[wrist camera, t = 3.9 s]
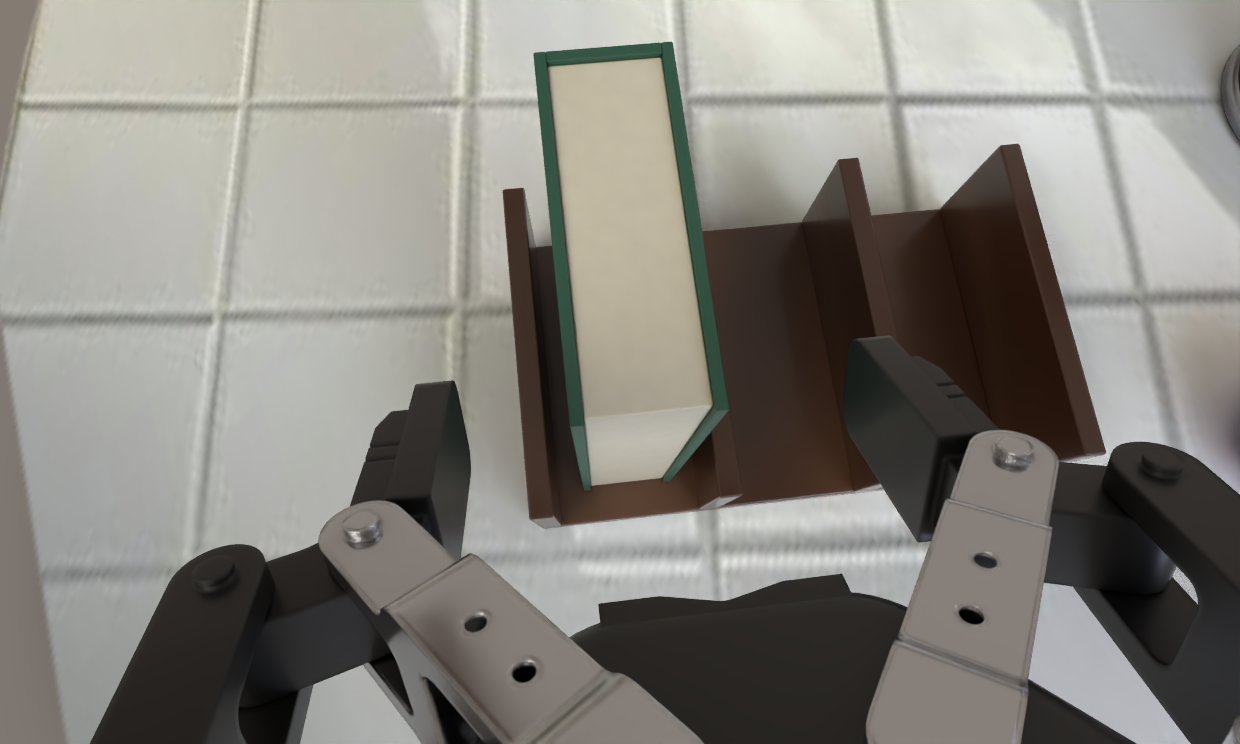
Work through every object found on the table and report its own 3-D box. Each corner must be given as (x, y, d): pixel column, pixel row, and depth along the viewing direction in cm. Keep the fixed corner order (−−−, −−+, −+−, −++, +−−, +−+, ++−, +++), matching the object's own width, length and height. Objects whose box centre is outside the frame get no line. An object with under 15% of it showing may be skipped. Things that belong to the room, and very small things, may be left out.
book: (641, 262, 32) (673, 40, 18) (670, 481, 30) (729, 409, 16) (561, 270, 32) (533, 51, 18) (583, 491, 29) (570, 427, 16)
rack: (948, 215, 34) (1020, 142, 28) (1012, 475, 31) (1107, 453, 25) (519, 255, 33) (502, 188, 27) (543, 529, 30) (529, 520, 24)
